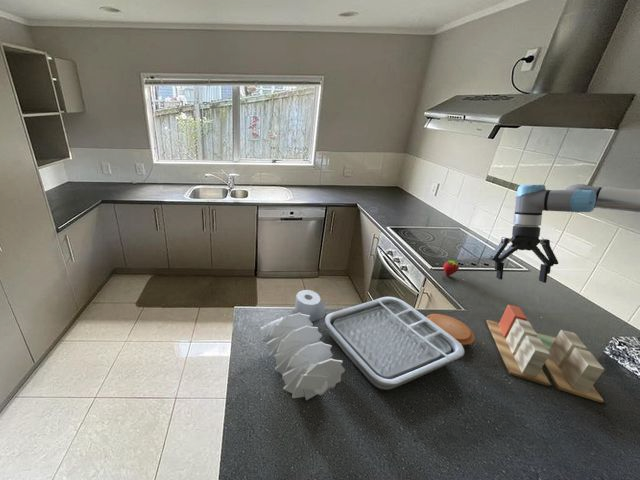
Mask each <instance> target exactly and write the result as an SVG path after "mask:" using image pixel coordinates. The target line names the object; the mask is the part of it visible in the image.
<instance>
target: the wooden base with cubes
mask: <svg viewBox="0 0 640 480" xmlns="http://www.w3.org/2000/svg"><path fill="white" fill-rule="evenodd" d="M485 323H486V325H487V327H488V329H489V331H490V333H491V336H492V338H493V340H494V343H495V346H496V348H497V349H498V352H499V354H500V356H501V358H502V361H503V363H504V365H505V367H506V369H507V372H508V375H512V376H515V377H517V378H521V379H524V380H528V381H530V382H533V383H537V384H540V385H544V386H546V387H550V386H551V385H552V384H551V383H550V381H549V379H548V377H547V375H546V374H545V372H544V370H543V367H544V363H545V362H546V360H547V358H548V357H549V355H550V354H549V352H548V351H547V349H546V347H545V346H544V344H543V343H542V341H541V340H540V338H536V337H537V333H538V332H536V330H535V329H534V327H533V325H532V324H531V322H530V321H528V320H526V321H525V320H521V319H516V320H515V322H514V324H513V326H512V328H511V330H510V332H509V334H508V336H507V337H504V335H503V333H502V331H501V329H500V327H499V325H498V324H499V322H497V321H494V320H490V319H486V321H485Z"/></svg>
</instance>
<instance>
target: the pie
mask: <svg viewBox="0 0 640 480" xmlns="http://www.w3.org/2000/svg"><path fill="white" fill-rule="evenodd" d="M425 317H426V318H428V319H429V320H431V321H432V322H433V323H435V324H436V325H437V326H439V327H440V328H441V329H443V330H444V331H446V332H447V333H448V334H450V335H451V336H452V337H453V338H455V339H456V340H457V341H458V342H459V343H461V345H462V346H463V347H464V346H468V345H472V343H474V341H475V338H476V337H475V333H474V332H473V330H472V329H471V328H470V327H469V326H468V325H466V324H465V323H464V322H463V321H461V320H458V319H457V318H455V317H452V316H450V315H447V314H442V313H441V314H440V313H431V314H428V315H427V316H425Z"/></svg>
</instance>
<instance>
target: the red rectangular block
mask: <svg viewBox="0 0 640 480" xmlns="http://www.w3.org/2000/svg"><path fill="white" fill-rule="evenodd" d="M516 319H521V320H525V321H528V318H527V316H526V314H525V313H524V312H523V310H522V308H521V307H520V306H517V305H512V304H510V303H509V304H507V306H506V308H505V310H504V312H503V313H502V316H501V318H500V320H499V322H498V323H499V324H498V325H499V327H500V329H501V331H502V333H503V335H504V337H507V336H508V334H509V332H510V330H511V328H512V326H513V324H514V322H515V320H516Z"/></svg>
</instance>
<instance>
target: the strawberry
mask: <svg viewBox="0 0 640 480" xmlns="http://www.w3.org/2000/svg"><path fill="white" fill-rule="evenodd" d="M458 270H459V265H458V263H457V262H456V260H455V259H454V260H450V259H448V260H446V262H444V263H443V271H444V273H445V275H446V276H447V277H450V276H452V275H453V274H455V273H457V271H458Z"/></svg>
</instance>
